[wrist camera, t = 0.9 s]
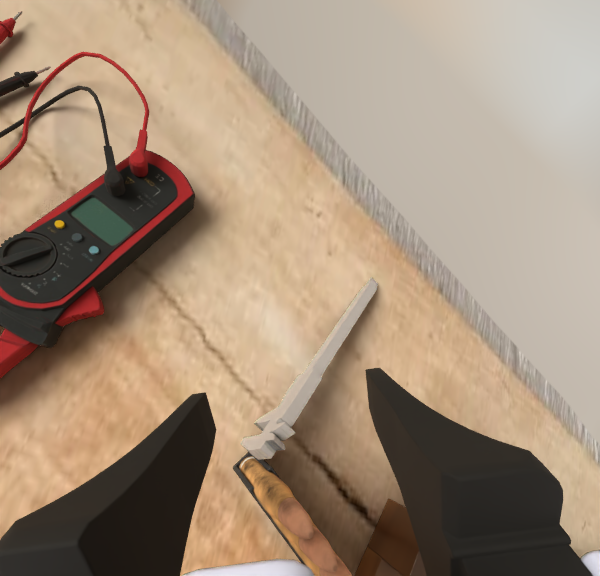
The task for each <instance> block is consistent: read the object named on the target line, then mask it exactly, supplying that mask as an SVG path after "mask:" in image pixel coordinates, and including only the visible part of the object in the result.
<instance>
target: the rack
mask: <svg viewBox="0 0 600 576" xmlns="http://www.w3.org/2000/svg"><path fill="white" fill-rule="evenodd" d="M355 576H427V575H426V571H425V568H424V564H423V561H422V558H421V554H420V551H419V548H418V544H417V541H416V538H415V535H414V531H413V528H412V525H411V522H410V518H409V515H408V512H407V509H406V507H404V506H402V505H400V504H398V503H397V502H395V501H393V500H391V499H388V501H387V503H386V506H385V508H384V510H383V512H382V515H381V517H380V519H379V521H378V524H377V526H376V528H375V531H374V533H373V535H372V537H371V540H370V542H369V544H368V547H367V549H366V551H365V553H364V555H363V558H362V560H361V562H360V565H359V567H358V569H357V571H356V574H355Z"/></svg>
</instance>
